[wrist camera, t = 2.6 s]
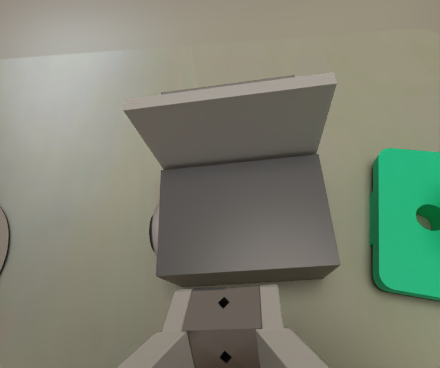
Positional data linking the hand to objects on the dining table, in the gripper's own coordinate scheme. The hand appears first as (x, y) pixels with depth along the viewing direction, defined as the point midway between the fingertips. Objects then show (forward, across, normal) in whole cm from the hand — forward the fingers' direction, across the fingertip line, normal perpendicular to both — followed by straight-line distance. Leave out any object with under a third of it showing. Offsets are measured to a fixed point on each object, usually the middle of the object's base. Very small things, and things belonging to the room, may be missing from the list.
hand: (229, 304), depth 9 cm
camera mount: (+18, -14, +8) cm, 24 cm away
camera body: (+17, 0, +8) cm, 19 cm away
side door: (+20, 0, +4) cm, 20 cm away
